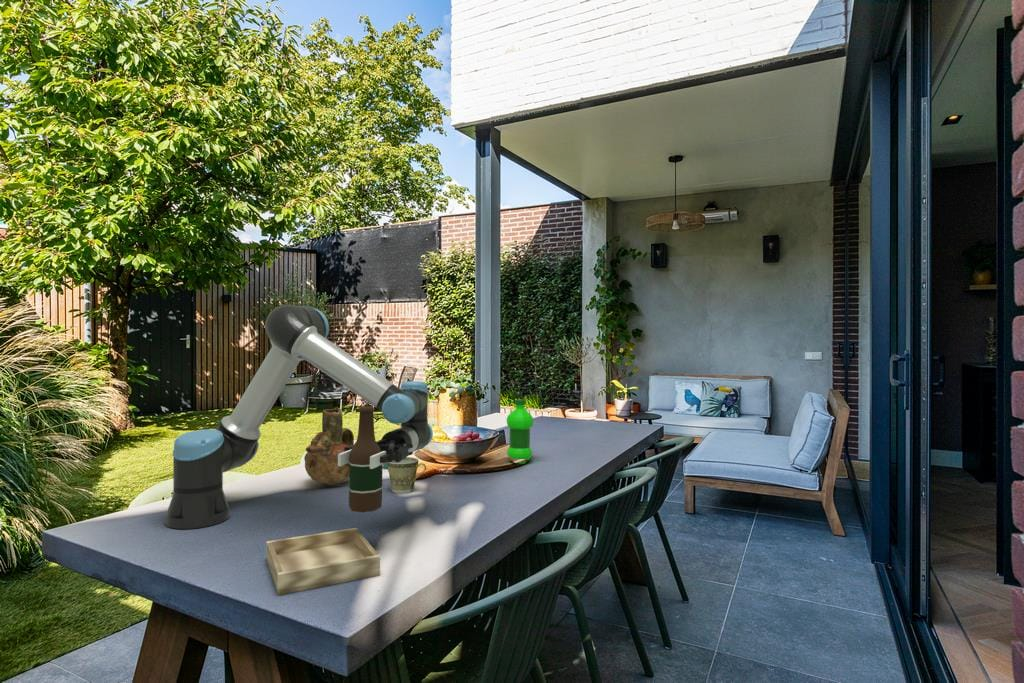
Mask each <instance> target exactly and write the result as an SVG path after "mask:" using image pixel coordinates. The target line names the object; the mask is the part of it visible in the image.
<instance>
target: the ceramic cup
mask: <svg viewBox="0 0 1024 683" xmlns="http://www.w3.org/2000/svg"><path fill="white" fill-rule="evenodd" d="M387 466H388V469H387V472H388V476H389V481H390V483H389V484H390V489H391V492H393V493H394V494H401V495H403V494H409V493H410V494H411V493H412V492H414V487H415V482H416V480H417V479H418V478H419V477H420V476H421V475H422V474H423V473H425V471H426V470H427V466H426V464H425V463H424V462H423V463H422V462H420V463H419V458H416V457H413V456H412V457H411V456H407V457H406V458H404V459H403V460H402V461H400V462H395V460H392V462H387ZM420 466H423V467H424V470H423V471H421V472H420V473H419V474H418V475H417V472H418V468H419V467H420Z"/></svg>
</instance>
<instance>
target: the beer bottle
mask: <svg viewBox="0 0 1024 683" xmlns="http://www.w3.org/2000/svg"><path fill="white" fill-rule="evenodd" d="M375 411H376V410H375V407H374V406H373V405H362V406H359V408H358V412H359V418H358V428H357V429H358V432H357V437H356V441H355V442H354V445H353V447H352V449H351V452H350V458H349V477H348V506H349V507H348V508H349V509H350V510H351V512H356V513H369V512H375V511H377V510H378V509H380V508H382V502H383V464H382V465H380V466H378V467H376V468H373V469H370V456H373V455H375V454H378V453H380V452H381V449H380V447H379V445H378V444H377V440H376V436H375V435H376V434H375V423H374V422H375V417H374V412H375Z"/></svg>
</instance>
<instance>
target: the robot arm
mask: <svg viewBox="0 0 1024 683" xmlns="http://www.w3.org/2000/svg"><path fill="white" fill-rule="evenodd" d="M264 327H265V333H266V335H267V337H268V338H269V342H270V343H271V348H270V349H269V352H268V353H267V354H266V356H265V357H264V360H263V361H262V363H261V365H260V366H259V368H258V370H257V371H256V373H255V374H254V376H253V378H252V380H251V381H250V382H249V385H248V386H247V388H246V390H245V391H244V393H243V394H242V396H241V398H240V399H239V401H238V403H237V404H236V406H235V408H234V409H233V410H232V413H231V414H230V415H226V416H223V417H222V419H221V420H220V422H219V423H218V425H217V426H216V429H213V428H211V429H209V428H206V429H197V430H195V431H193V430H192V431H188V432H185V433H183V434H181V435H178V436H177V437H176V438H175V440H174V443H173V450H172V456H173V462H172V463H173V468H172V470H173V476H172V478H173V482H172V483H173V485H172V486H173V490H172V491H173V493H172V496H171V497H172V498H171V500H170V502H169V506H168V507H167V511H166V514H165V526H166V527H168V528H170V529H176V530H177V529H178V530H184V529H185V530H189V529H200V528H201V529H202V528H206V527H211V526H214V525H218V524H220V523H223V522H225V521H227V520H228V519H229V518H230V514H231V513H230V512H231V511H230V510H231V509H230V505H229V503H228V500H227V497H226V494H225V492H224V488H223V486H224V484H223V482H224V481H223V480H224V475H223V474H224V473H226V472H229V471H231V470H234V469H237V468H240V467H242V466H244V465H246V464H247V463H248V462H250V461H251V460H252V459H253V458H254V457H255V456H256V454H257V453H258V449H259V445H260V444H259V439H260V438H261V435H262V433H261V431H260V428H261V427H262V426H261V425H262V424H263V423H264V421H265V418H266V417H267V416H268V414H269V412H270V411H271V409H272V408H273V406H274V404H275V403H276V401H277V400H278V398H279V396H280V394H281V393H282V391H283V390H284V388H285V386H286V384H287V383H288V381H289V379H290V378H291V376H292V375H293V373H294V372H295V370H296V369H297V367H298V365H299V363H300V362H301V361H305V362H308V363H309V364H311V365H312V366H314V367H315V368H316V369H318V370H320V371H321V372H322V373H324V374H326V376H328V377H330V378H331V379H333V380H334V381H336V382H337V383H339V384H340V385H342V386H343V387H344V388H346V389H348V390H349V391H351V392H352V393H354V394H355V395H357V396H358V397H360V398H361V399H362V400H364V401H365V402H367V403H368V404H370V406H372V407H374V408H376V409H378V410H379V411H380V412H381V413H382V416H383V417H384V419H385V420H386V421H387V422H388V423H390V424H394V425H395V424H396V425H398V424H400V427H399V428H395V429H394V430H391V431H387V432H386V433H385V434H383V436H382V438H381V439H379V440H378V441H377V440H376V442H377V444H378V445H379V447H380V449H381V452H380V453H378V454H375V455H373V456H370V469H373V468H376V467H378V466H380V465H382V466H383V464H384V463H386V462H392V460H395V462H400V461H402V460H403V459H404V458H406V457H410V456H412V455H413V454H414V452H416V451H419V450H422V449H424V448H425V447H427V445H429V444H430V443H431V441H432V439H433V434H434V432H433V428H432V427H431V425H430V424H429V423H428V422H429V421H428V420H429V419H428V417H429V416H428V415H429V414H428V407H429V406H428V405H429V404H428V403H429V400H428V399H429V391H428V383H427V382H426V381H421V380H420V381H419V380H418V381H416V380H415V381H413V380H412V381H411V380H409V381H404V382H402V383H401V384H400V387H398V386H397V385H395V384H394V383H392V382H391V381H390V380H388V379H387V378H385V377H384V376H382V375H381V374H380V373H378V372H377V371H375V370H374V369H372V368H370V367H369V366H367V365H365V364H364V363H363V362H361V361H360V360H358V359H357V358H355V357H354V356H352V355H351V354H350V353H348V352H346V350H344V349H342V348H341V347H339V346H338V345H336V344H335V343H333V342H332V341H330V340H329V339H327V338H328V336H329V333H330V332H329V331H330V326H329V322H328V318H327V317H326V315H325V314H324V313H323V311H320V309H318V308H315V307H312V306H310V305H295V304H283V305H282V304H281V305H279V306H277V307H275V308H274V309H273V310H271V311H270V312H269V314H268V315H267V316H266V320H265V326H264ZM352 447H353V445H352V446H348V447H345V448H344V452H343V453H340V454H338V466H342V465H345V464H347V463H349V458H350V452H351V449H352Z"/></svg>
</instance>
